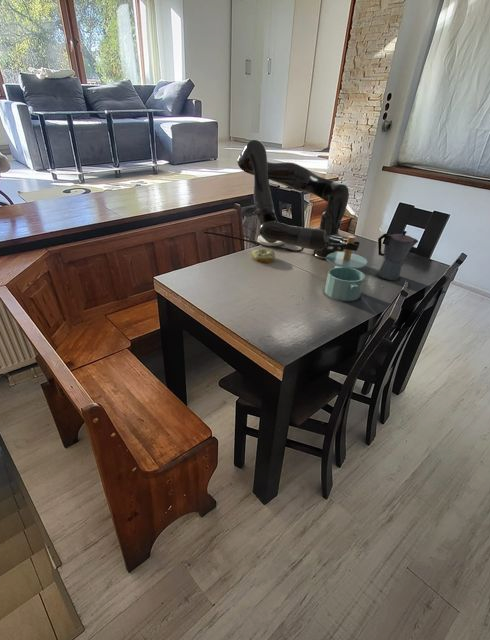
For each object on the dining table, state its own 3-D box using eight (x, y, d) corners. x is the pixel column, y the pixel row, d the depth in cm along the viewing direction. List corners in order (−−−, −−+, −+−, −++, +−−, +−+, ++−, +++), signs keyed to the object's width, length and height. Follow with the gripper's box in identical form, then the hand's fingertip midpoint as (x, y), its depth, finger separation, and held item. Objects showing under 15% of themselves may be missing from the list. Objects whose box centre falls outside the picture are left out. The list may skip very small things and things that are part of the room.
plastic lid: (251, 243, 189) (252, 238, 188) (267, 236, 198) (268, 232, 196) (273, 249, 182) (273, 244, 180) (288, 243, 190) (289, 238, 189)
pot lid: (333, 270, 128) (338, 243, 123) (321, 255, 140) (325, 230, 135) (373, 269, 130) (380, 243, 124) (357, 254, 142) (363, 230, 136)
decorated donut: (253, 263, 167) (254, 255, 164) (251, 255, 175) (251, 247, 173) (276, 263, 167) (276, 255, 165) (272, 254, 176) (272, 247, 174)
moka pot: (408, 282, 153) (424, 235, 141) (370, 279, 155) (383, 232, 143) (403, 273, 160) (418, 228, 149) (367, 270, 163) (379, 225, 151)
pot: (333, 305, 135) (337, 285, 130) (318, 283, 150) (321, 264, 145) (368, 304, 136) (373, 284, 131) (349, 283, 151) (354, 264, 146)
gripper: (314, 243, 143) (358, 250, 138) (305, 254, 133) (352, 262, 127) (317, 223, 139) (363, 230, 133) (308, 234, 129) (357, 242, 123)
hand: (358, 246), depth 130 cm, fingers closed on pot lid, 2 cm apart
